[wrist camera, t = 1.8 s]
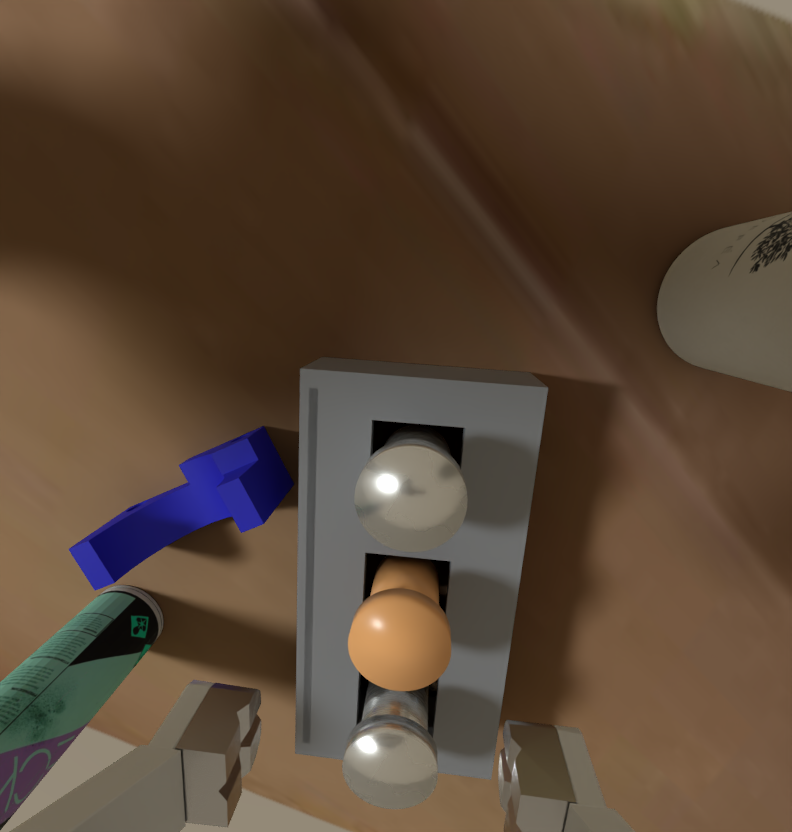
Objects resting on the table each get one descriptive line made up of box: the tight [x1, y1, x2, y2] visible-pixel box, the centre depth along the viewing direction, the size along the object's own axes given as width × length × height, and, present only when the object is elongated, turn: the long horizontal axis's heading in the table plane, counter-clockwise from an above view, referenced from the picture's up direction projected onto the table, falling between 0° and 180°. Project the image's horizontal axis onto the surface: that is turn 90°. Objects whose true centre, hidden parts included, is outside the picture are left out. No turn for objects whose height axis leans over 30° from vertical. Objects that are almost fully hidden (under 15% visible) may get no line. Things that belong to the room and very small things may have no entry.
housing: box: [295, 357, 548, 780], centre depth 30 cm, size 13×26×5 cm, turn 176°
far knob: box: [342, 681, 438, 809], centre depth 29 cm, size 5×5×6 cm
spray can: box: [0, 585, 164, 830], centre depth 27 cm, size 6×6×20 cm
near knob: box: [354, 425, 468, 552], centre depth 25 cm, size 5×5×6 cm
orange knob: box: [348, 555, 451, 691], centre depth 27 cm, size 5×5×6 cm
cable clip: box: [69, 426, 294, 590], centre depth 30 cm, size 12×4×6 cm, turn 114°
